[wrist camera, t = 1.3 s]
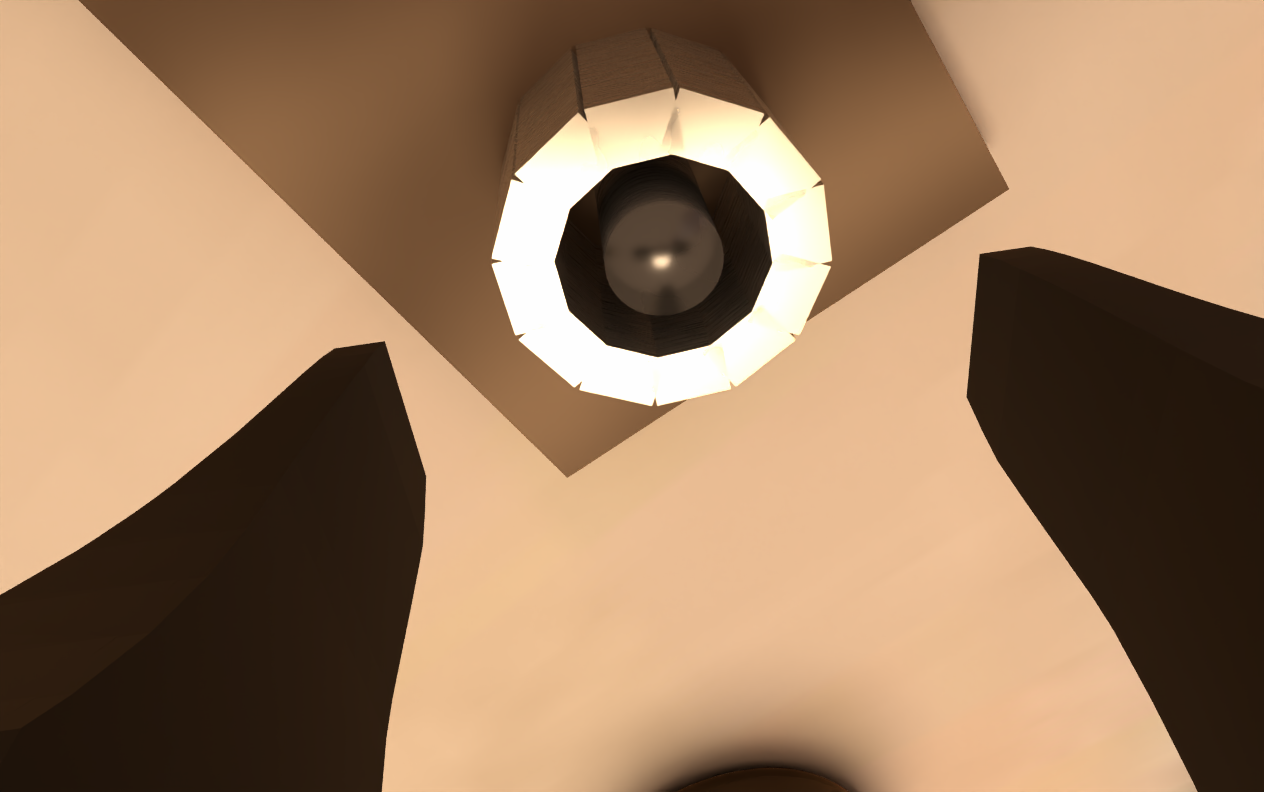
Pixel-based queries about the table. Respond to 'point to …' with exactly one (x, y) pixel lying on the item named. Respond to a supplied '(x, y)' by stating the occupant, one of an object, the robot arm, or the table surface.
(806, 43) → the walnut board
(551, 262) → the steel collar
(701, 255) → the stand rod
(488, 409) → the table surface
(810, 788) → the ink bottle
